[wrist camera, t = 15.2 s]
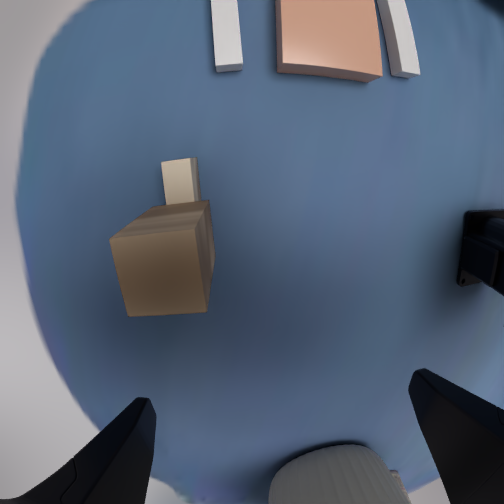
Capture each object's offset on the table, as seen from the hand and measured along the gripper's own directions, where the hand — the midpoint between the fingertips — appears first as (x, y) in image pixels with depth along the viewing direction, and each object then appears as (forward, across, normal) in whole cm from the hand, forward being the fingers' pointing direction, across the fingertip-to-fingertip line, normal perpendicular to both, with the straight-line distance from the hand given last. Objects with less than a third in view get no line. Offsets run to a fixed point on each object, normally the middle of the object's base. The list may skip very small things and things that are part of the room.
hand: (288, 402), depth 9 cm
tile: (+12, -5, -15) cm, 20 cm away
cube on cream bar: (+12, +4, -4) cm, 13 cm away
